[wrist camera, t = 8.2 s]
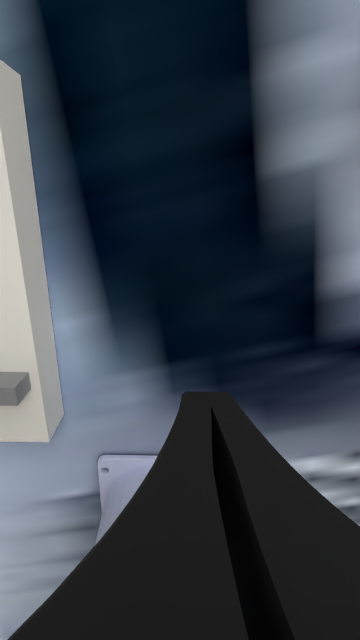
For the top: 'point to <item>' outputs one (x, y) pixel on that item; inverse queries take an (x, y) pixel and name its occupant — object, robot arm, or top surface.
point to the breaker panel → (23, 287)
